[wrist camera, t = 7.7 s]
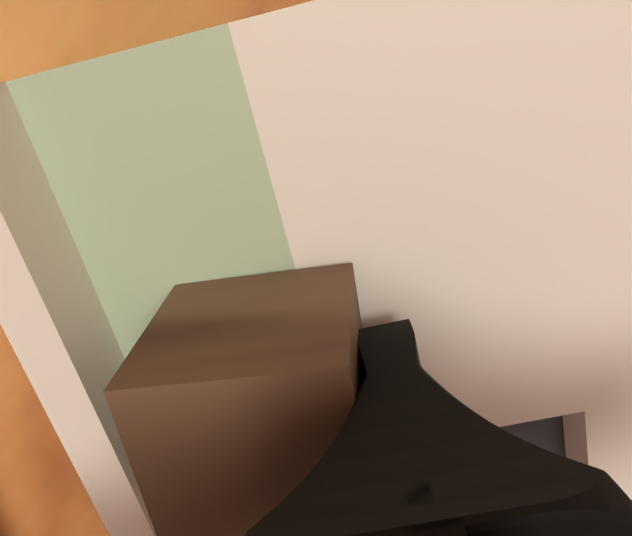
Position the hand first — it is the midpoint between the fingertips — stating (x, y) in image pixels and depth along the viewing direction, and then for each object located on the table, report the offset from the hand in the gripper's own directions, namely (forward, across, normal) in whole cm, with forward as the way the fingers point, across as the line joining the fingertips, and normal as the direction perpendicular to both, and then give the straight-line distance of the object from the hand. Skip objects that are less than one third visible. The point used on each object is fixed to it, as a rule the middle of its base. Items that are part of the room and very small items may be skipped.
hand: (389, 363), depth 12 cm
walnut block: (+1, +2, 0) cm, 3 cm away
